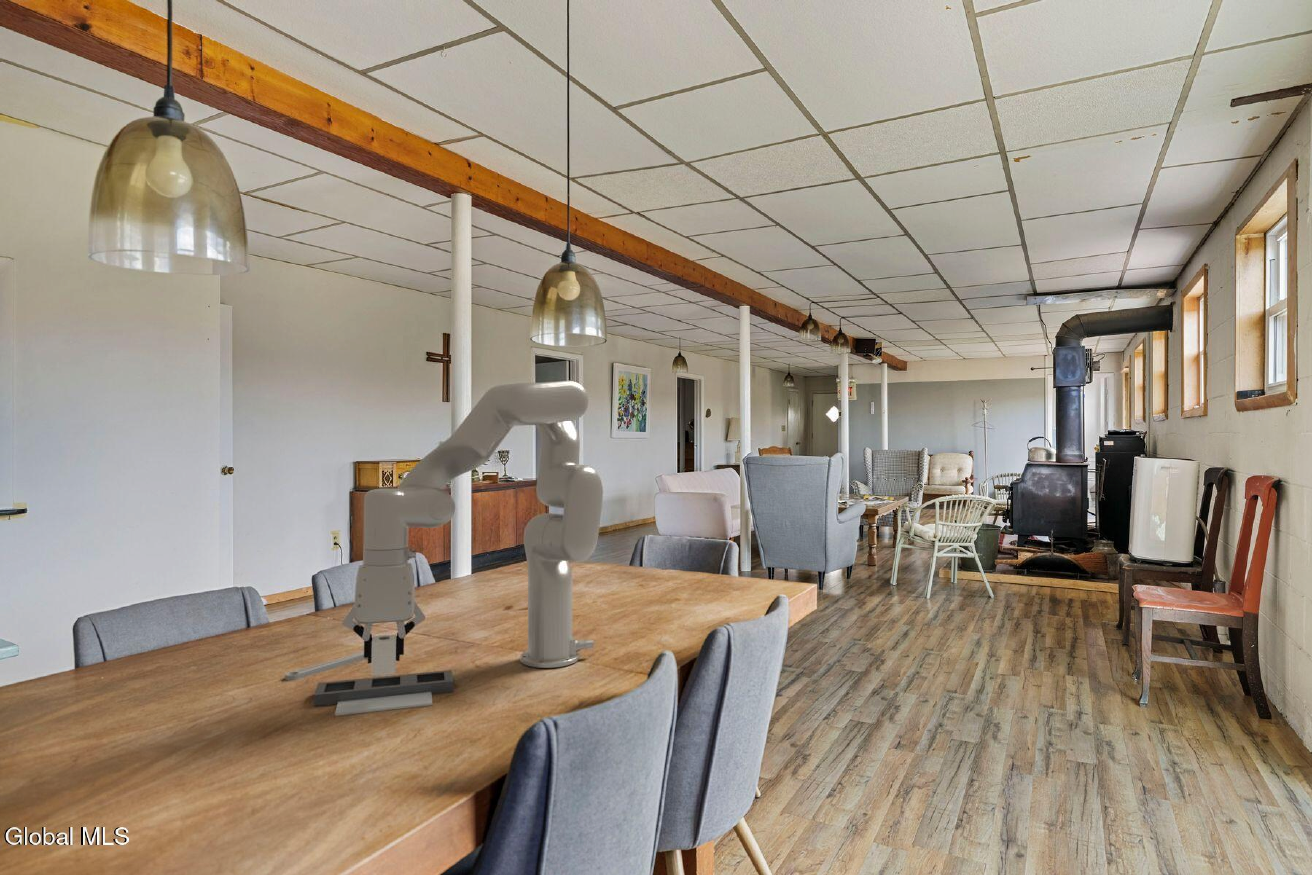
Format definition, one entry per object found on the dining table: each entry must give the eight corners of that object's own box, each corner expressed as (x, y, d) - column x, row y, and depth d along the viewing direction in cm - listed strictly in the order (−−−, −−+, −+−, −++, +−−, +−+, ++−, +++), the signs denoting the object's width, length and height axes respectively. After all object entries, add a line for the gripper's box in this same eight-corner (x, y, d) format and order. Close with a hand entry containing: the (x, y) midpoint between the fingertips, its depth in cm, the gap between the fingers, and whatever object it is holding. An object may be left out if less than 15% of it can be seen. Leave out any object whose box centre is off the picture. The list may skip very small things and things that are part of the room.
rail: (451, 679, 143) (451, 669, 143) (453, 691, 136) (453, 680, 136) (318, 693, 135) (318, 682, 135) (313, 706, 128) (313, 695, 128)
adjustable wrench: (289, 684, 142) (289, 675, 142) (274, 678, 146) (274, 669, 146) (401, 653, 162) (401, 645, 162) (385, 648, 166) (385, 641, 166)
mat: (431, 693, 135) (431, 691, 135) (432, 704, 129) (432, 702, 129) (338, 703, 130) (338, 701, 130) (334, 715, 124) (334, 713, 124)
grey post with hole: (395, 667, 132) (396, 633, 132) (395, 673, 128) (396, 639, 128) (372, 669, 130) (372, 635, 131) (371, 675, 127) (371, 640, 127)
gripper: (433, 553, 136) (432, 650, 136) (336, 556, 130) (335, 658, 130) (435, 559, 129) (433, 662, 128) (332, 562, 123) (330, 670, 123)
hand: (383, 659), depth 129 cm, fingers closed on grey post with hole, 4 cm apart
